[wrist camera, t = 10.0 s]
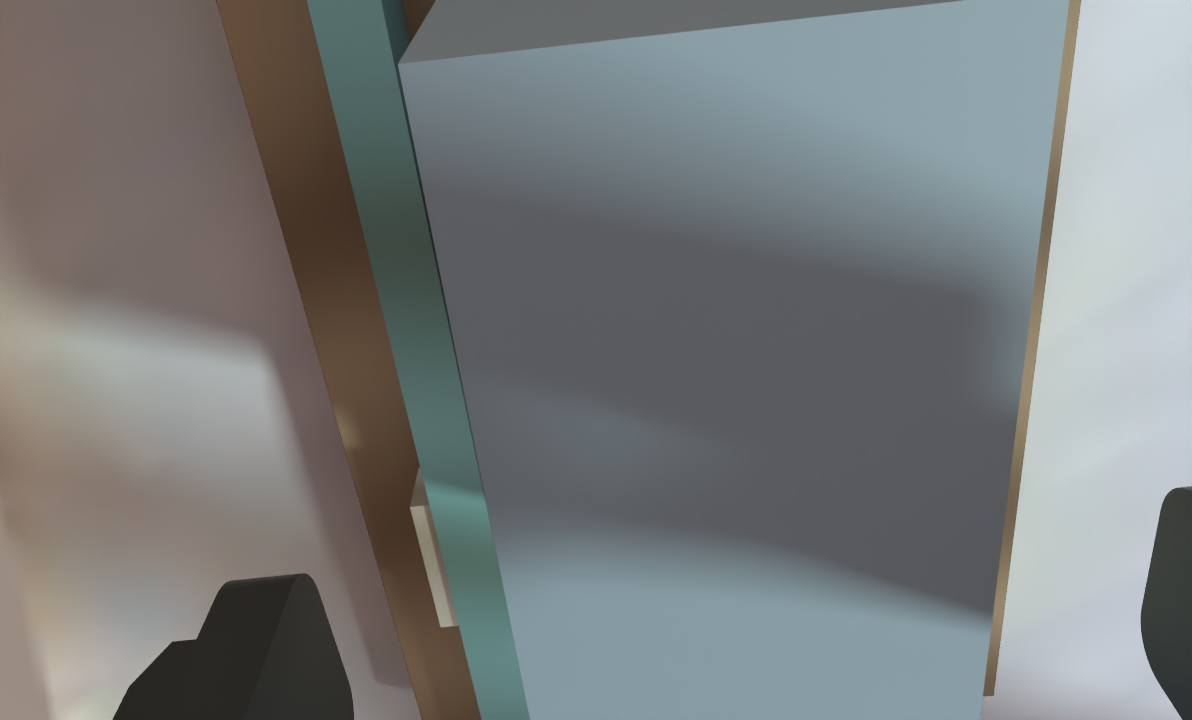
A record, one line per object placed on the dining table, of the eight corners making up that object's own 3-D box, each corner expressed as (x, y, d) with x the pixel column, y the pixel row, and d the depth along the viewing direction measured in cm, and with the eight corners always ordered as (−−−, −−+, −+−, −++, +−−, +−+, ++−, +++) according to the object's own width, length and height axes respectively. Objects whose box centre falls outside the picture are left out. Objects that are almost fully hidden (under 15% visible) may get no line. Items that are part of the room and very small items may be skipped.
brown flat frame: (970, 646, 24) (1018, 750, 22) (437, 695, 25) (421, 803, 22) (1134, -885, 12) (1291, -1070, 9) (52, -725, 12) (-86, -856, 10)
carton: (816, -131, 14) (1101, -17, 7) (814, 443, 19) (975, 890, 12) (477, -91, 15) (368, 67, 7) (561, 468, 20) (555, 924, 12)
